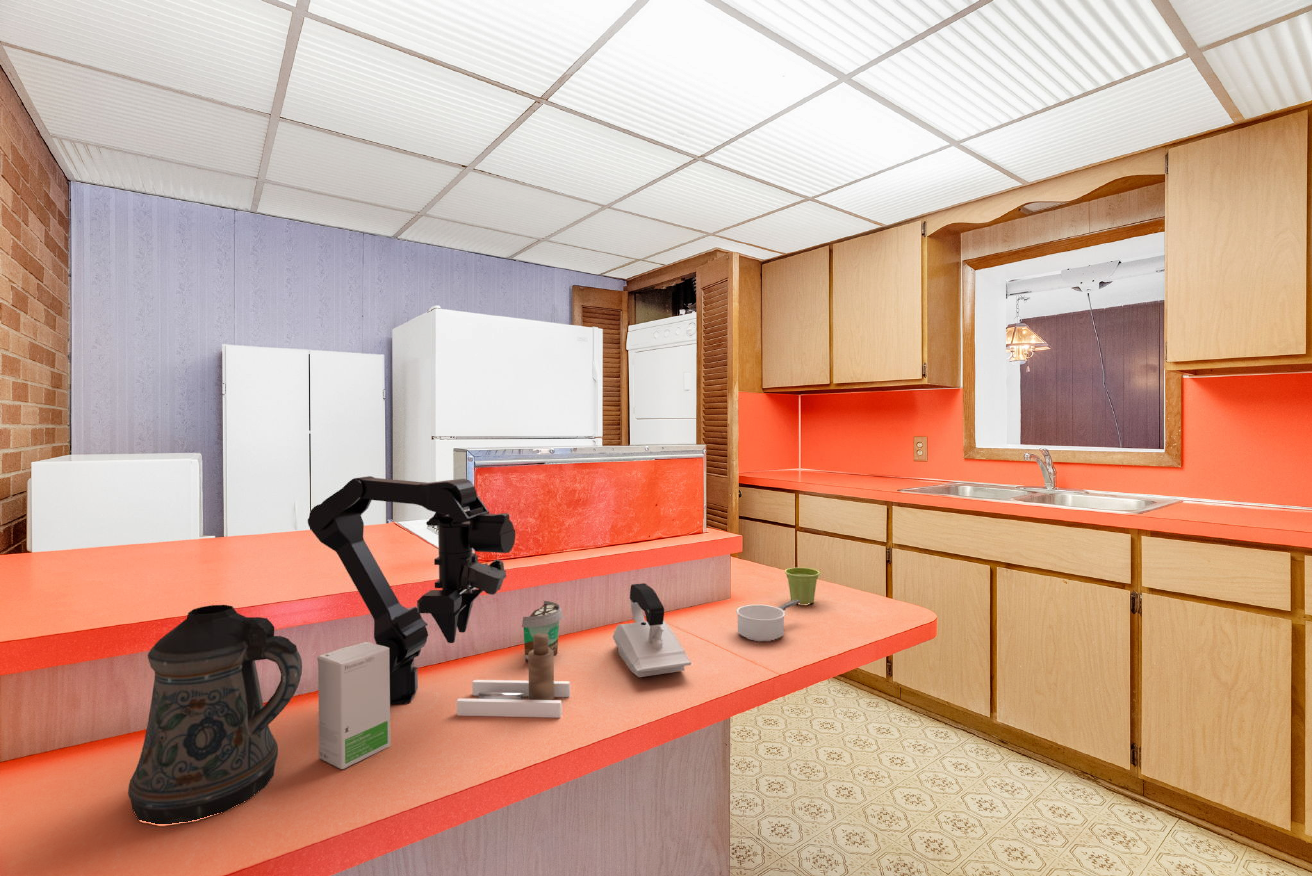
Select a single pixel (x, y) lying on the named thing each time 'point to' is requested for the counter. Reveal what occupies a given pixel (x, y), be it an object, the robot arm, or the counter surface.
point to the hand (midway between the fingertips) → (456, 637)
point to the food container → (542, 626)
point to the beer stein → (210, 716)
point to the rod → (501, 695)
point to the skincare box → (353, 703)
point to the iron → (649, 637)
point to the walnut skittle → (541, 669)
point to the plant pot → (802, 584)
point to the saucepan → (762, 621)
